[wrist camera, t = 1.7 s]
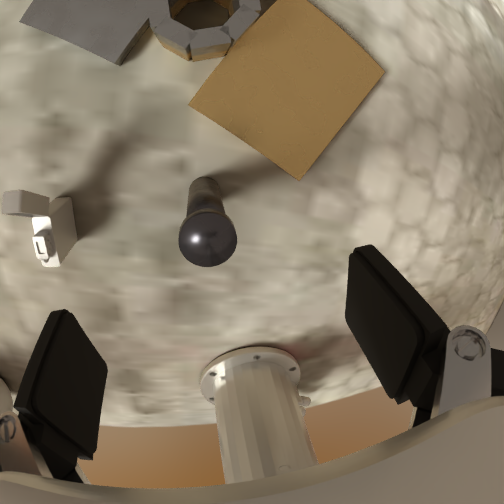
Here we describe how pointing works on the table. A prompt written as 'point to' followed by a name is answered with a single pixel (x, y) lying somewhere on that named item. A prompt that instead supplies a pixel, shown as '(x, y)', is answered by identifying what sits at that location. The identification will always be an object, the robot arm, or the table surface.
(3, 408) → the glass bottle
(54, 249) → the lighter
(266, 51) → the hinge
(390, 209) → the table surface
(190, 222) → the dark round-topped peg
